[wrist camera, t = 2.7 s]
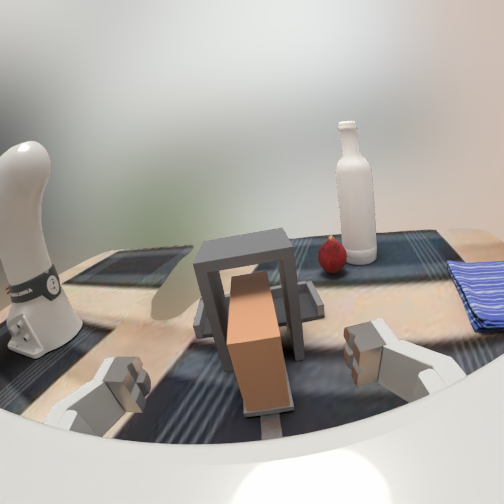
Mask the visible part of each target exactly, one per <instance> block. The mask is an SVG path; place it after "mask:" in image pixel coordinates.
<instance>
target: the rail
mask: <svg viewBox="0 0 504 504" xmlns="http://www.w3.org/2000/svg"><path fill="white" fill-rule="evenodd" d="M260 420H261V433H262V440H270V439H277V438H283V437H282V430H281V422H280V415H279V413H274V414H267V415H260Z"/></svg>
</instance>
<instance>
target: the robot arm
mask: <svg viewBox="0 0 504 504" xmlns="http://www.w3.org/2000/svg"><path fill="white" fill-rule="evenodd" d="M50 173H51V163H50V158H49V155H48V153H47V151H46V150H45V148H44V147H43V146H42V145H41V144H39V143H37V142H35V141H28V142H24V143H21V144H18V145H16V146H14V147H12V148H10V149H9V150H8V151H6V152H5V153H4V154H3V155H2V156H0V258H1V261H2V264H3V267H4V270H5V273H6V276H7V278H8V281H9V287H8V288H7V289H6V290H8V289H9V291H8V292H7V294H9V293H10V296H11V301H12V306H11V309H10V312H9V315H8V318H7V327H8V329H9V332H10V334H11V336H12V338H11V340H10V341H9V343H8V348H9V349H10V350H12V351H15V352H17V353H20V354H23V355H26V356H28V357H31V358H34V359H37V358H39V357H41V356H42V355H44V354H45V353H47V352H49V351H51V350H54V349H56V348H58V347H60V346H62V345H64V344H65V343H67V342H68V341H70V340H71V339H72V338H73V337H74V336H75V335H76V334H77V333H78V332H79V331H80V329H81V327H82V324H83V322H82V320H81V319H80V317H79V316H78V314H77V312H76V310H75V309H73V307H72V305H71V304H70V302H69V300H68V298H67V296H66V294H65V292H64V290H63V289H62V287H61V286H60V282H59V277H58V274H57V271H56V269H55V266H54V265H53V264H52V263H51V261H50V257H49V254H48V251H47V247H46V244H45V240H44V236H43V231H42V224H41V205H42V197H43V192H44V189H45V186H46V184H47V182H48V180H49V177H50ZM344 338H345V340H346V343H345V344H344V357H345V361H346V364H347V366H348V368H350V369H352V378H353V380H354V382H355V384H356V386H357V387H360V386H364V385H367V384H371V383H375V382H378V383H379V384H381V385H382V386H384V387H385V388H387V389H388V390H390V391H392V392H393V393H395V394H396V395H398V396H399V397H401V398H403V399H404V400H406V401H407V402H409V403H408V404H406V405H403V406H401V407H398V408H395V409H393V410H390V411H387V412H384V413H381V414H378V415H375V416H372V417H369V418H366V419H363V420H359V421H356V422H352V423H349V424H345V425H341V426H337V427H333V428H329V429H325V430H321V431H316V432H311V433H306V434H301V435H295V436H290V437H283V438H277V439H270V440H262V441H253V442H242V443H228V444H201V445H185V444H159V443H145V442H135V441H126V440H118V439H111V438H105V437H102V436H103V435H104V434H105V433H106V432H107V431H108V430H109V429H110V428H111V427H112V426H113V425H114V424H115V423H116V422H117V421H118V420H119V419H120V418H121V417H122V416H123V415H124V414H125V412H143V410H144V407H145V404H146V399H145V396H146V395H147V394H149V392H150V389H151V381H150V378H149V375H148V373H147V372H146V371H145V370H143V369H142V365H143V364H142V362H141V360H140V358H138V357H107V358H105V360H104V361H103V363H102V365H101V366H100V368H99V370H98V372H97V373H96V375H95V377H94V379H93V380H92V381H89V382H87V383H86V384H84V385H83V386H81V387H80V388H78V389H77V390H75V391H74V392H72V393H71V394H69V395H68V396H66V397H65V398H63V399H62V400H60V401H59V402H57V403H56V404H54V405H53V406H52V408H51V409H50V411H49V413H48V415H47V416H46V418H45V420H44V422H43V423H40V422H37V421H34V420H31V419H28V418H25V417H22V416H19V415H16V414H14V413H11V412H9V411H6V410H4V409H1V408H0V504H504V354H502V355H501V356H499V357H498V358H496V359H495V360H493V361H492V362H490V363H488V364H487V365H485V366H483V367H482V368H480V369H478V370H477V371H475V372H473V373H471V374H470V375H468V376H466V374H465V373H464V372H463V371H462V369H461V368H460V367H459V366H458V365H457V363H456V362H455V361H454V360H453V359H452V358H451V357H449V356H446V355H443V354H440V353H437V352H434V351H432V350H429V349H426V348H423V347H421V346H418V345H415V344H412V343H410V342H407V341H404V340H401V341H399V340H398V338H397V337H396V336H395V334H394V333H393V332H392V330H391V329H390V328H389V327H388V325H387V324H386V323H385V321H384V320H383V319H382V318H378V319H375V320H372V321H369V322H366V323H362V324H358V325H354V326H350V327H346V328H345V329H344Z"/></svg>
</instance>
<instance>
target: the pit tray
mask: <svg viewBox="0 0 504 504" xmlns="http://www.w3.org/2000/svg"><path fill="white" fill-rule="evenodd" d="M270 289H271V294H272V299H273V303H274V308H275V313H276V318H277V322H278V327H279V326H284V325H287V324H286V316H285V309H284V301H283V294H282V287H281V285H280V286H274V287H270ZM298 291H299V301H300V311H301V321H302V322H305V321H310V320H315V319H320V318H324V304H323V302H322V300H321V298H320V296H319V294H318V293H317V291H316V289H315V287H314V285H313V283H312V282H311V280H307V281H302V282H298ZM225 299H226V303H227V307H228V311H229V304H230V294H226V295H225ZM193 328H194V331H195V334H196V337H197V338H204V337H212V336H213V334H212V331H211V327H210V324H209V321H208V317H207V314H206V310H205V307H204V303H203V300H202V298H200V302H199V305H198V309H197V313H196V316H195V320H194V324H193Z"/></svg>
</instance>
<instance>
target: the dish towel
mask: <svg viewBox="0 0 504 504" xmlns="http://www.w3.org/2000/svg"><path fill="white" fill-rule="evenodd" d="M447 267H448V271H449V273H450V275H451V277H452V279H453V281H454V284H455V285H456V288H457V290H458V292H459V294H460V297H461V299H462V302H463V304H464V307H465V310H466V313H467V315H468V317H469V320H470V323H471V325H472V327H473V329H474V330H475V331H476V332H480V333H483V332H495V331H504V261H495V262H477V263H464V262H454V261H447Z"/></svg>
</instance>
